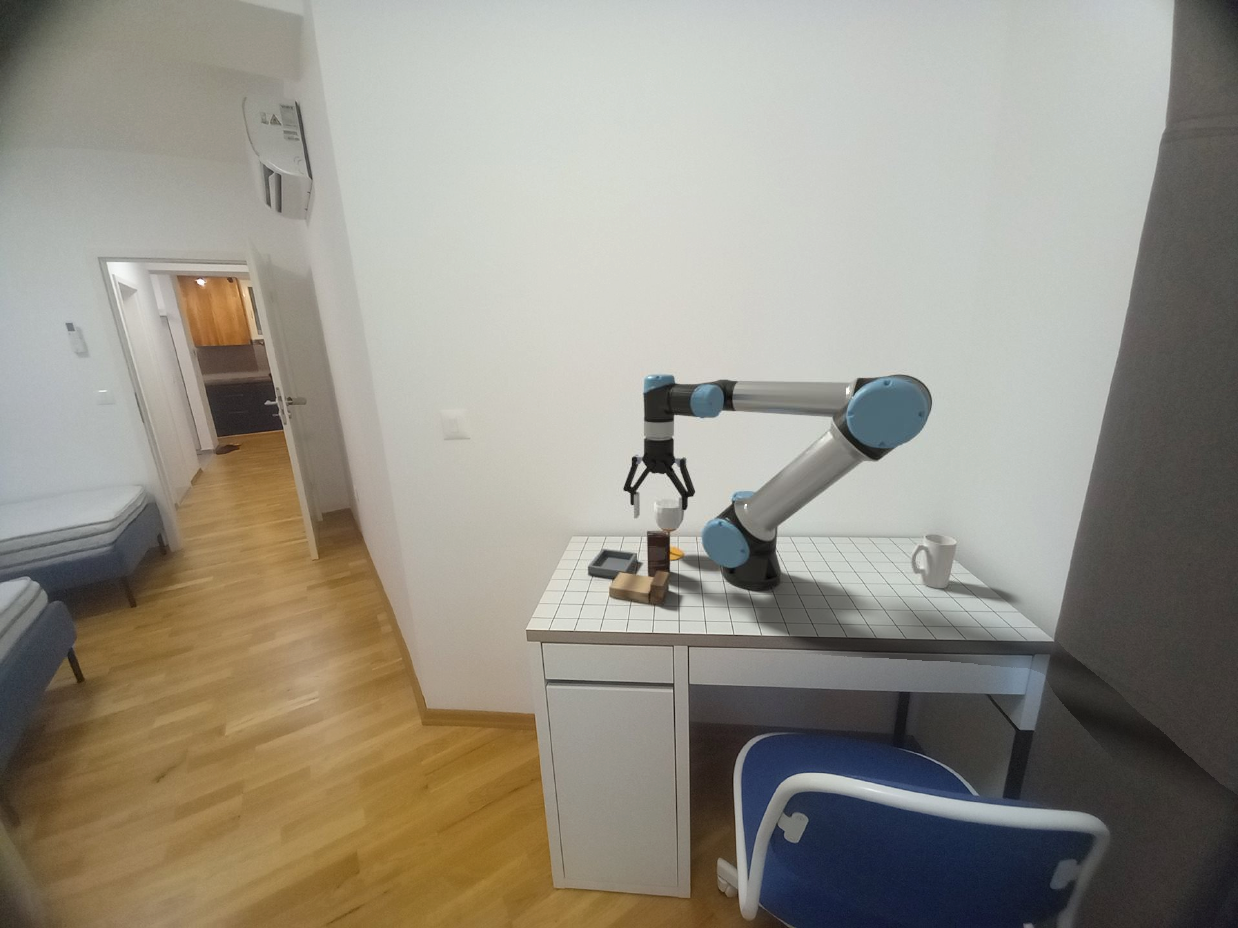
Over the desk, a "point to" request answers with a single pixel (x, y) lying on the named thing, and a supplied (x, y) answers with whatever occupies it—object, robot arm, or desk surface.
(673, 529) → the cup
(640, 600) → the light brown wooden block
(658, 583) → the brown rectangular block
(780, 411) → the robot arm
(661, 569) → the box
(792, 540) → the desk surface
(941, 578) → the mug
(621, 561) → the tray
